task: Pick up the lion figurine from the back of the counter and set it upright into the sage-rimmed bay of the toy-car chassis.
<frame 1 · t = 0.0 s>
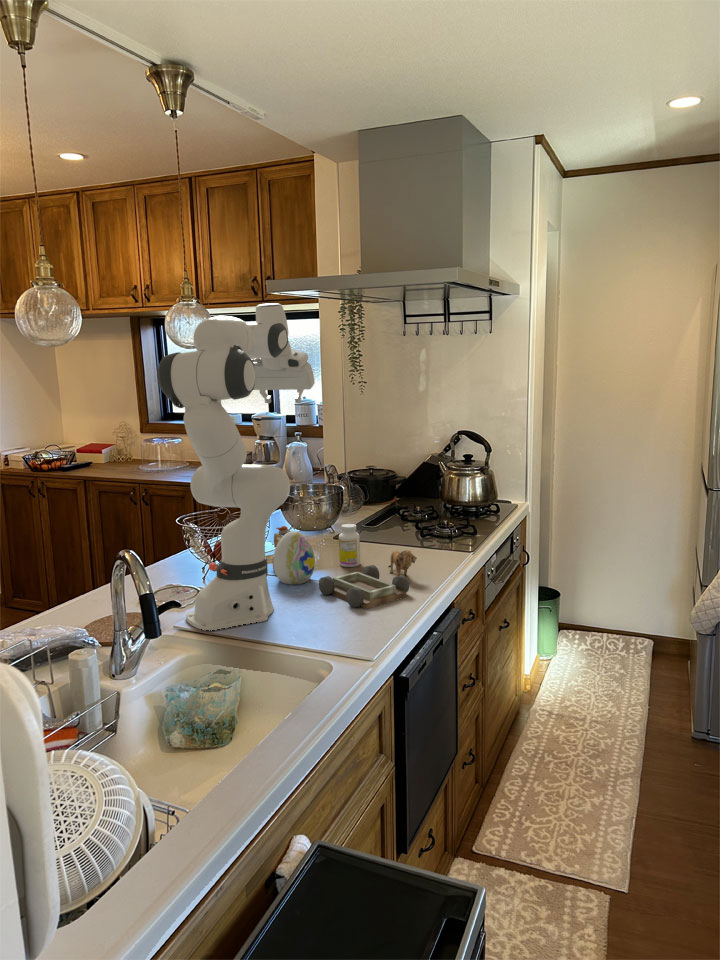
hand: (283, 402, 216), 52 cm above the worktop, tool tilted 20°, fingers open, 8 cm apart
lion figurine: (401, 575, 217), on the worktop
supplement bottle: (349, 565, 229), on the worktop
toy car chassis: (363, 593, 201), on the worktop
decorative egg: (294, 581, 214), on the worktop
toy helicopter: (283, 565, 230), on the worktop
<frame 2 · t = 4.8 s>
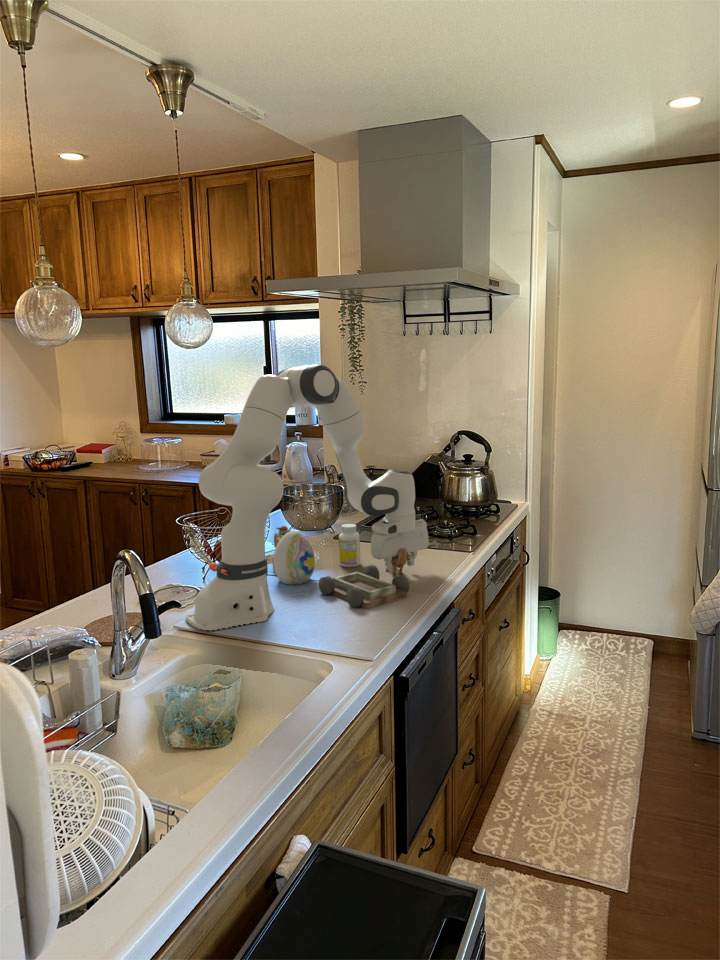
hand: (400, 568, 217), 2 cm above the worktop, tool pointing down, fingers open, 6 cm apart
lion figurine: (396, 573, 219), on the worktop, touching gripper
everything else where it was.
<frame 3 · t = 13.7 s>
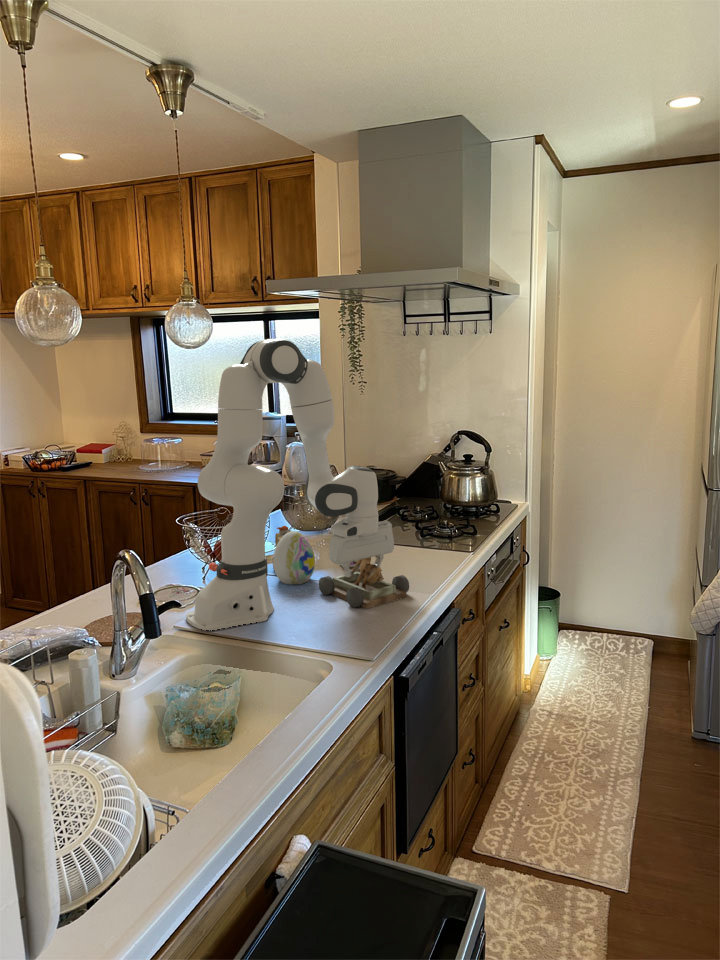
hand: (362, 573, 200), 6 cm above the worktop, tool pointing down, fingers open, 8 cm apart
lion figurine: (359, 581, 202), point 3 cm above the worktop, touching toy car chassis
everything else where it was.
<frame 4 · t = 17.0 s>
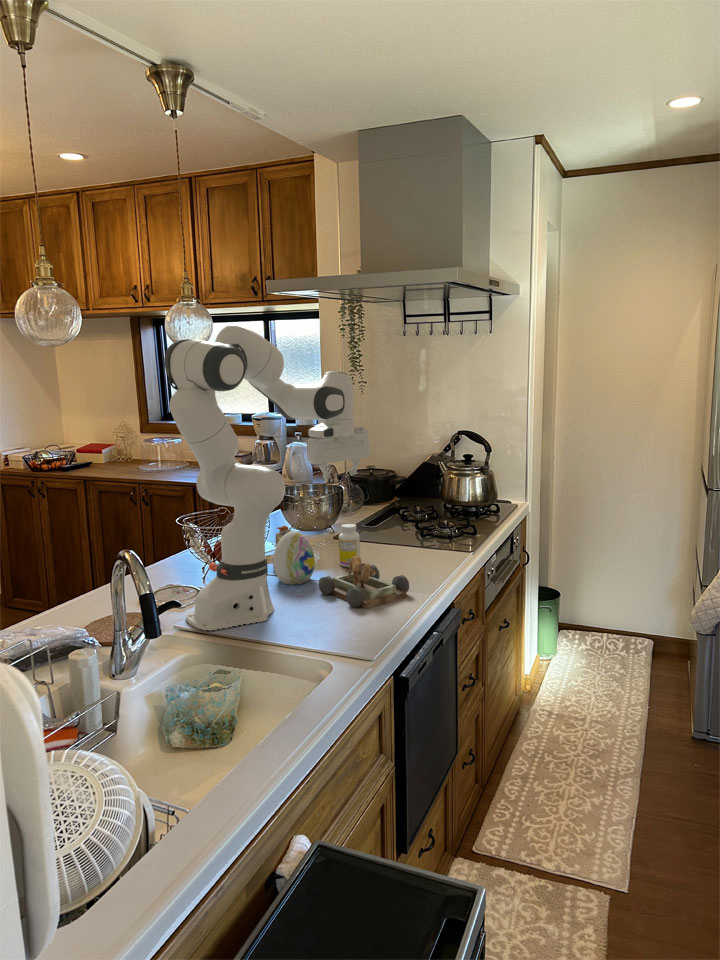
hand: (340, 476, 208), 31 cm above the worktop, tool pointing down, fingers open, 8 cm apart
at the end: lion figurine 2.5 cm off-centre on the toy car chassis, point 2.1 cm above the toy car chassis's base; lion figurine tilted 14°; the gripper is holding nothing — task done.
